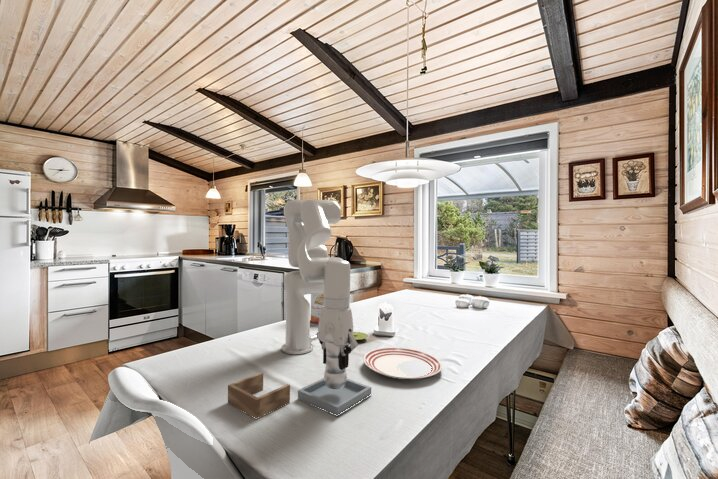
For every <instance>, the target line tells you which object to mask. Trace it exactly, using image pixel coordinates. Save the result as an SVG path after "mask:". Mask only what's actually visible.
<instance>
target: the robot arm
mask: <svg viewBox="0 0 718 479" xmlns="http://www.w3.org/2000/svg"><path fill="white" fill-rule="evenodd" d="M283 215H284V221H285V224H286V227H287V230H288V248H287V249H288V252H287V253H288V254H287V256H288V263H289V265H290V266H291V267H293V268H298V270H293V271H289V272H288V273H286V274H285V276H284V278H283V286H284V291H285V292H284V293H285V343H284V344H282V346H281V351H282V352H283V353H285V354H290V355H302V354H303V355H304V354H308V353H310V352H312V351H313V350H314V345H313V343H312V342H313V341H317V340H318V341H319V344H320V345H321V350H322V351H323V353H322V354H323V355H322V364H324V365H326V346H325V342H326V341H325V336H326V335H327V334H331V335H332V337H333V340H334V341H333V344H334V345H336V346H340V350H341V355H340V363H339V368H340V370H343V369H347V368H348V367H349V362H350V361H349V359H350V358H349V355H350V354H351V353H352V352H353V351H354V349H356V348H358V345H359V343H358V342H357V340H355V338H354V337H353V332H354V321H353V314H352V308H350V307H351V305H350V303H351V302H350V301H351V263H350V262H349V261H347V260H344V259H343V258H341V257H338V256H337V257H336V256H332V257H331V256H329V252H328V251H329V250H328V248H327V247H326V245H324V244H325V243H327V242H328V241H329V240H330V239H331V236H332V230H331V227H330V225H334V224H335V225H336V224H337V223H339V222H340V221H341V218H342V209H341V207H340V205H339V203H338V201H335V200H331V199H315V198H314V199H313V198H312V199H291V200H287V202H286V203H285V204H284V208H283ZM323 292H324V297H323V298H322V301H324V306H322V308H321V311H320V317H319V323H318V328H317V332H316V334H315V335H310V333H311V332H310V331H311V330H310V329H311V322H310V319H311V303H310V302H309V301H308V299H307V298H306V297H305V296H306V295H311V294H318V293H323ZM345 345H346V346H345ZM344 346H345V348H346V349H345V348H344Z"/></svg>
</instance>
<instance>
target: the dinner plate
mask: <svg viewBox="0 0 718 479" xmlns="http://www.w3.org/2000/svg"><path fill="white" fill-rule="evenodd" d="M362 360H363V363H364V364H365V366H367V368H369V370H372V371H374V372H375V373H378V374H380V375H382V376H384V377H389V378H391V377H392V379H396V378H398V379H397V380H405V379H410V380H417V379H418V380H420V379H425V378H429V377H432V376H433V377H434V376H435V375H438V374H439V373H440V372H441V370H442V368H443V365H442V363H441V360H439V359H438V358H437V357H436V356H434V355H432V354H431V353H427V352H425V351H421V350H419V349H414V348H410V347H409V348H408V347H401V346H400V347H398V346H396V347H395V346H390V347H386V346H385V347H379V348H375V349H372V350H370V351H368V352H366V353H365V355H364V356H363V359H362ZM411 360H418V361H423V362H425V363H428V364H429V365H430V366H431V367H432V368H431V369H432V370H431V372H430V373H428V374H427V375H424V376H417V377H416V376H415V377H414V376H413V377H412V376H407V375H406V374H405V373H403V372H404V371H403V372H402V371H401V370H400V368H399V370H398V369H397V367H396V366H398V363H399V364H402V362H405V361H411ZM397 370H398V371H397ZM402 374H403V375H402Z"/></svg>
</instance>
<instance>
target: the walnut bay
mask: <svg viewBox="0 0 718 479" xmlns="http://www.w3.org/2000/svg"><path fill="white" fill-rule="evenodd" d="M262 391H264V373H263V372H259V373H256V374H253V375H251V376H248V377H246V378H244V379H243V378H242V379H241V380H238V381H235V382H232V383H229V384H228V385H227V404H229V405H230V404H231V405H230V406H232V407H234V408H235V409H237V408H238V409H237V410H239V409H240V410H239V411H241V410H242V411H241V412H243V411H244V412H246V413H247V414H246V413H245V414H246V415H248V414H249V415H251V416H253V417H255V418H258V417H260V416H262V417H264V416H265V415H264V414H266V415H268V414H270V413H272V412H274V411H276V410H278V409H280V408H282V407H284V406H286V405H288V404H290V403H291V401H290V400H291V385H290V384H288V383H287V384H284V385H283V386H280V387H277V388H276V389H273V390H271V391H269V392H267V393H265V394H262V395H260V396H256V394H257V393H259V392H262ZM254 394H255V395H254ZM285 404H286V405H285ZM283 405H284V406H283ZM281 406H282V407H281ZM279 407H280V408H279ZM277 408H278V409H277ZM275 409H276V410H275ZM273 410H274V411H273ZM271 411H272V412H271ZM244 412H243V413H244ZM269 412H270V413H269ZM267 413H268V414H267ZM249 415H248V416H249ZM263 415H264V416H263ZM251 416H250V417H251ZM253 417H252V418H253ZM255 418H254V419H255ZM260 418H261V417H260ZM258 419H259V418H258Z"/></svg>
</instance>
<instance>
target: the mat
mask: <svg viewBox="0 0 718 479" xmlns="http://www.w3.org/2000/svg"><path fill="white" fill-rule="evenodd" d="M353 337H354V338H355V340H356V341H358V340H364V339H367V338H368V337H369V335H368V334H367V333H365V332H360V331H353Z"/></svg>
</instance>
